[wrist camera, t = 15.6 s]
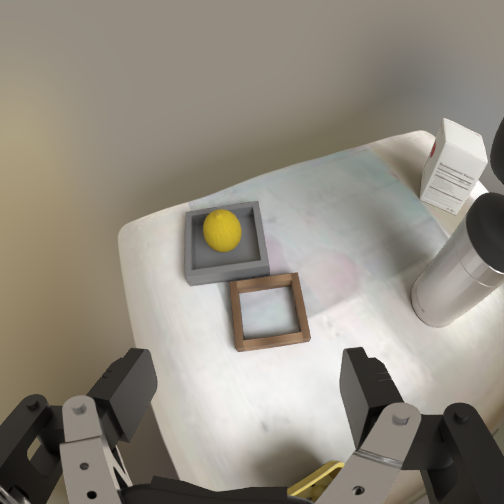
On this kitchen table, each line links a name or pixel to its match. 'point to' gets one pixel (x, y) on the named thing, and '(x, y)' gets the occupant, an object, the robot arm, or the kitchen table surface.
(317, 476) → the flower pot
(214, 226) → the lemon
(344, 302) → the kitchen table surface
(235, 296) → the wooden square frame
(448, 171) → the supplement box
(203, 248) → the charcoal tray
